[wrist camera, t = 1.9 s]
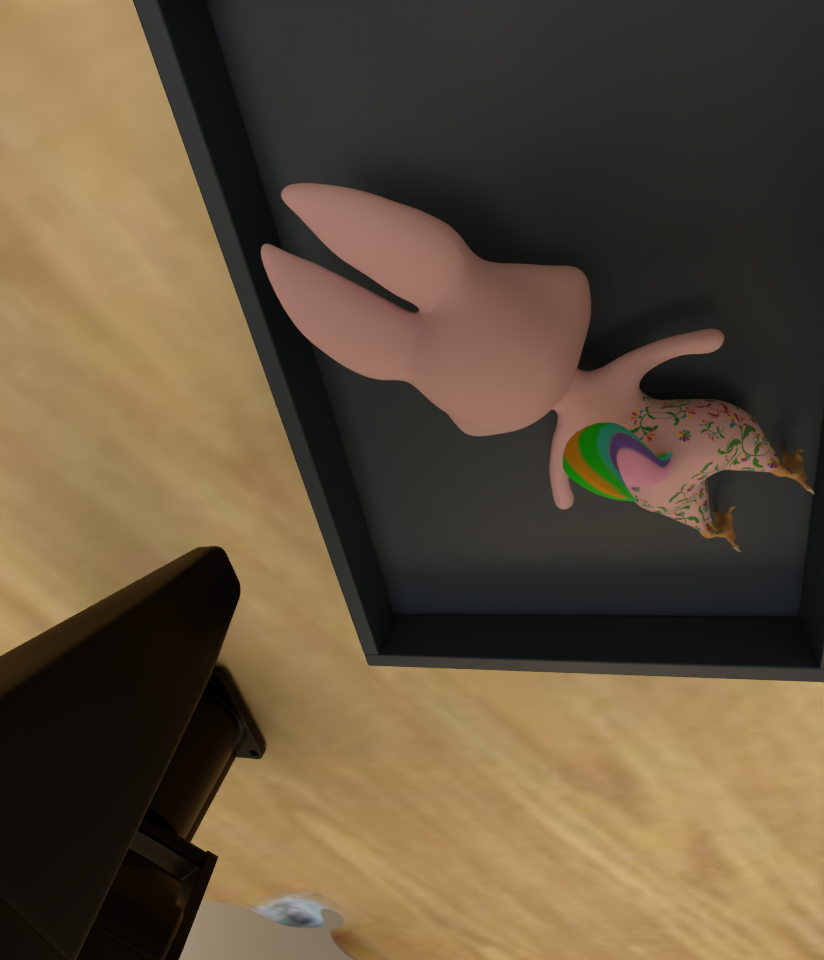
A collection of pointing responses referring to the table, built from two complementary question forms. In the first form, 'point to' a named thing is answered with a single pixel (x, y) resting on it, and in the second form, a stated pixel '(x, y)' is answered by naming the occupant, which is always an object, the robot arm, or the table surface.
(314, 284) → the rabbit figure
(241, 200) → the desk tray
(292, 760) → the table surface
